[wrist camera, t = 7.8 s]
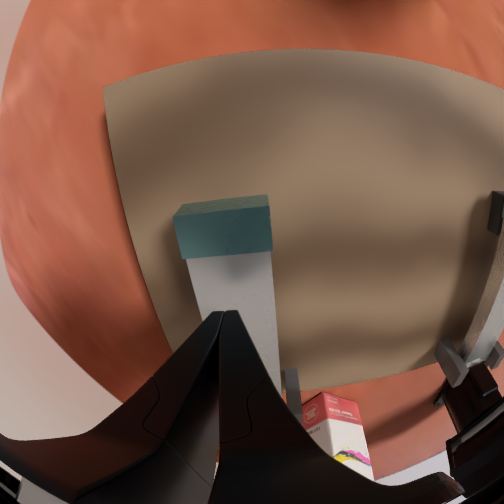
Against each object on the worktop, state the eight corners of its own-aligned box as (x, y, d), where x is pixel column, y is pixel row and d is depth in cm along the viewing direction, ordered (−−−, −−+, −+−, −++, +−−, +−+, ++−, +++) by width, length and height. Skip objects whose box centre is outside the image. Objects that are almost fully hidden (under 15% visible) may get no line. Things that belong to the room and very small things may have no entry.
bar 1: (283, 397, 16) (284, 415, 14) (233, 400, 16) (232, 418, 15) (267, 194, 10) (269, 205, 9) (182, 204, 10) (172, 216, 9)
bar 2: (478, 351, 15) (486, 363, 13) (450, 361, 15) (458, 375, 14) (531, 191, 9) (546, 199, 8) (505, 189, 9) (522, 197, 8)
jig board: (479, 328, 18) (507, 367, 13) (196, 375, 20) (184, 434, 15) (520, 104, 9) (573, 115, 4) (122, 90, 11) (55, 82, 6)
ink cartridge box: (321, 389, 20) (344, 551, 7) (357, 400, 22) (386, 537, 8) (262, 427, 24) (261, 556, 10) (298, 436, 25) (306, 552, 12)
